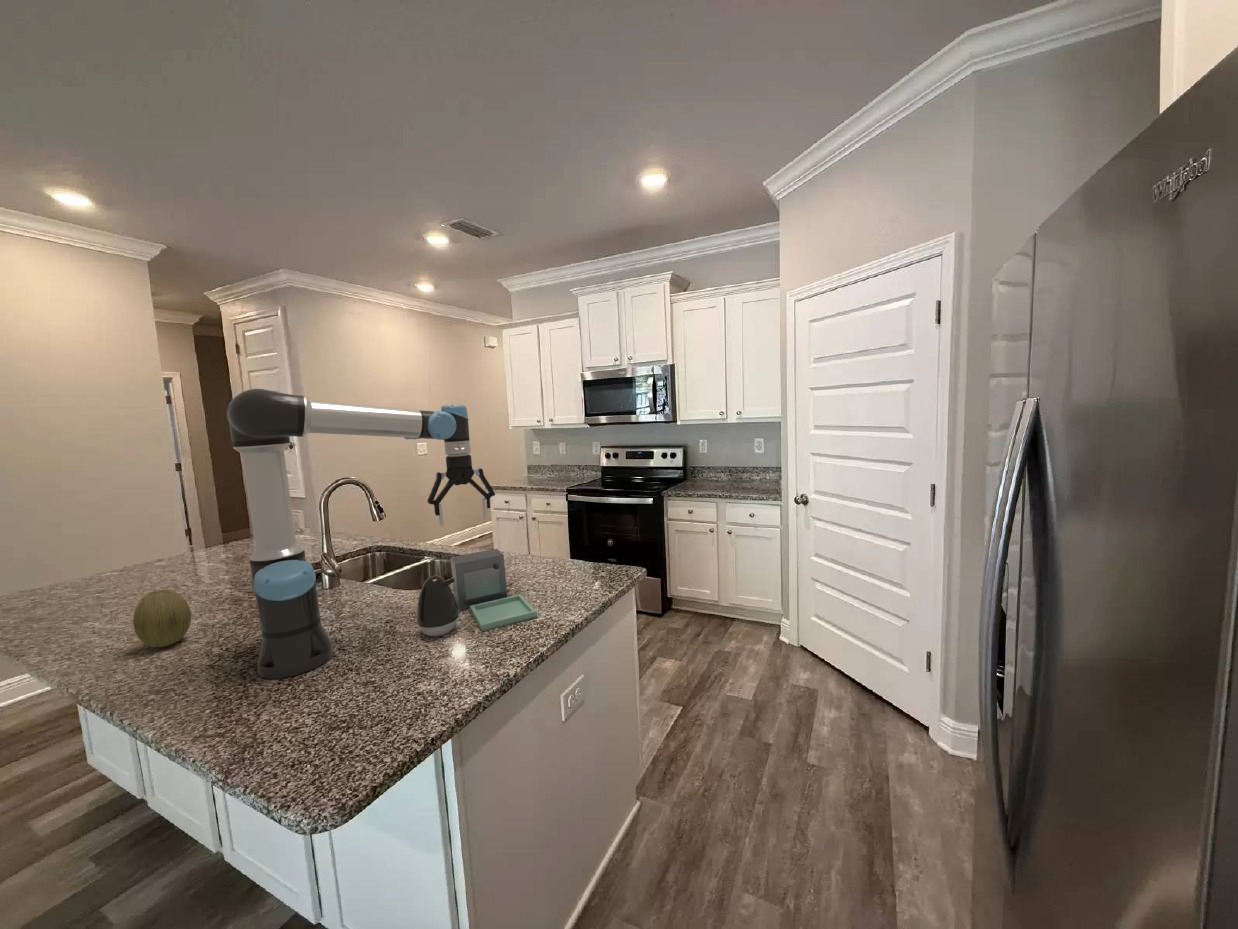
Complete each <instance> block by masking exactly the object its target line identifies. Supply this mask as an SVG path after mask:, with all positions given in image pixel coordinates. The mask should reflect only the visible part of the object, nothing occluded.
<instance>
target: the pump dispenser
mask: <svg viewBox="0 0 1238 929" xmlns="http://www.w3.org/2000/svg"><path fill="white" fill-rule="evenodd" d="M454 581H455V579H454V578H449V579H445V578H443V577H442V576H440V575H432V576H431V575H430V576H429V577H427V579H426V580H424V582H423V584H422V587H421V589H420V592H419V596H418V600H417V606H416V623H417V625H418V627H419V628H420V631H421V632H422V633H423V634H425V635H426V636H429V637H441V636H444V635H447V634H448V633H450V632H452V631H453V629H454V628H455V627H456V624H457V622H458V618H459V609H458V607H457V604H456V601H455V598H454V592H453V591H452V589H451V587H450V585H452V584H453V582H454Z"/></svg>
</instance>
